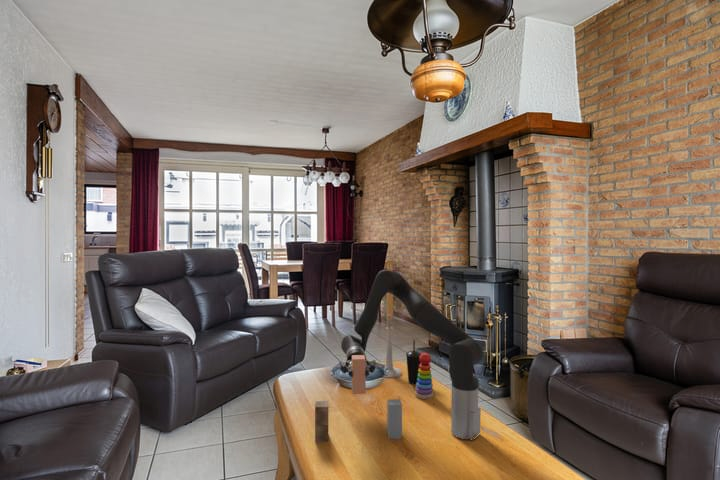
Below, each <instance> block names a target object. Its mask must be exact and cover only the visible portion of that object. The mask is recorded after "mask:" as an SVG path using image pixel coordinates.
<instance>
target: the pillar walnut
mask: <svg viewBox="0 0 720 480" xmlns="http://www.w3.org/2000/svg"><path fill="white" fill-rule="evenodd" d="M314 403H315V405H314V411H315V412H314V431H315V432H314V442H315V443H317V442H319V443H320V442H329V401H328V400H320V401H318V400H317V401H315V402H314Z"/></svg>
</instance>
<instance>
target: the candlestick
mask: <svg viewBox="0 0 720 480" xmlns="http://www.w3.org/2000/svg"><path fill="white" fill-rule="evenodd" d="M386 319H387V322H386V323H387V326H386V327H385V329H386V332H387V335H386V351H385V352H386V353H385V354H386V355H385V366H384V367H385V368H387V369H389V370H390V374H389V375H388V376H387V377H386V378H385V379H395V378H399V377H402V375H403V372H402V370H401V369H400V368H398V367H395V366H394V365H393V363H394V362H393V346H392V345H393V344H392V333H393V329H394V327H392V314H389V313H388V314H387V318H386Z"/></svg>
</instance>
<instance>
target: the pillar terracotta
mask: <svg viewBox="0 0 720 480" xmlns="http://www.w3.org/2000/svg"><path fill="white" fill-rule="evenodd" d="M365 355H366V354H365ZM365 355H352V371H353V377H351V393H352V395H363V394H364V395H365V394H366V393H367V392H366V389H367V388H366V386H367V385H366V384H367V383H366V382H367V381H366V380H367V379H366V378H367V377H365V370H366V365H365Z"/></svg>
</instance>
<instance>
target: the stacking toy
mask: <svg viewBox="0 0 720 480" xmlns="http://www.w3.org/2000/svg"><path fill="white" fill-rule="evenodd" d="M421 353H422V352H421ZM419 360H420V362H421V364H420V365H419V370H418V372H419V373H418V378H417V384H415V385H416V386H415V392H414V396H415V397H416V398H417V399H422V400H430V399H432V398H434V392H433V391H434V388H433V379H432V369H431V368H432V366H431V364H430V363H431V361H432V356H431V355H430V354H429V353H427V352H423V353H422V354H421V355H420V357H419Z"/></svg>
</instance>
